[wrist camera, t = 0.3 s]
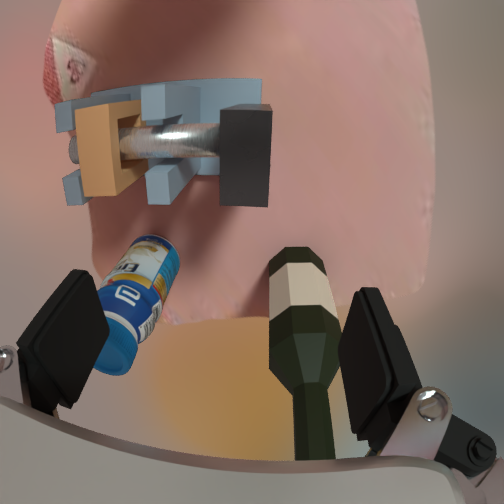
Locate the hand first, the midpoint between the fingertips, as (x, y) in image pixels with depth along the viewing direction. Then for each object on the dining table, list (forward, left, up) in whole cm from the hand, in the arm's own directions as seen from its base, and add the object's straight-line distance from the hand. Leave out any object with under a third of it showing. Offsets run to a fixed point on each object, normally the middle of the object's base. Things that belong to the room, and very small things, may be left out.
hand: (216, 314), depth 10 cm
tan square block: (-3, -13, -22) cm, 26 cm away
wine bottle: (+17, +7, -29) cm, 34 cm away
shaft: (-3, -8, -24) cm, 26 cm away
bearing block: (-3, -10, -29) cm, 31 cm away
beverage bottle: (+16, -14, -29) cm, 36 cm away
